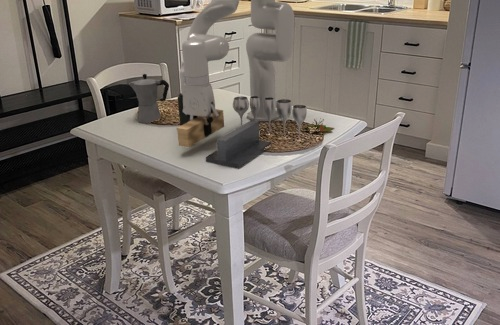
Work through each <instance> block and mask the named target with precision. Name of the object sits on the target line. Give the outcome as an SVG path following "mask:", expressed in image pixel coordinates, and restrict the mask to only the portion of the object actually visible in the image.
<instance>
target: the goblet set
mask: <svg viewBox="0 0 500 325" xmlns="http://www.w3.org/2000/svg"><path fill="white" fill-rule="evenodd" d="M249 97H250V98H249V100H248V97H246V96H242V95H241V96H239V95H238V96H236V97H234V98H233V101H232V108H233V110H234V111H235V112H236V114H238V115H239V118H240V126H242V125H243V118H244V115H245V113H247V111H248V110H249V108H250V111H252V113H253V115H254V120H255V121H256V116H257V113H258V111H259V107H260V100H259V97H258V96H252V97H251V96H249ZM276 101H277V105H276V111H277V113H278V116H279V118H280V121H281V122H282V124H283V135H284V136H285V135H286V122H287V120H288V119H289V117H290V116H291V114H292V118H293V120H294V121H295V122H294V123H296V125H297V127H298V128H297V129H298V138H301V128H302V124H303V123H304V121H305V120H306V118H307V114H308V113H307V112H308V110H307V106H306V105H304V104H295V105H293V103H292V100H291V99H288V98H287V99H286V98H284V99H283V98H281V99H278V100H276ZM292 105H293V106H292ZM274 108H275V103H274V98H272V97H267V98H265V99H264V110H265V113H266V115H267V117H268V121H267V122H268V131H269V132H268V133H271V117H272V114H273V112H274Z"/></svg>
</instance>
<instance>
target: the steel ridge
mask: <svg viewBox="0 0 500 325" xmlns="http://www.w3.org/2000/svg"><path fill="white" fill-rule="evenodd" d="M259 131H260V121H253V120H249V121H247V122H245V123H244V124H242V126H241V125H240V126H238V127H236V128H235V129H232V130H231V131H229V132H228V133H225V134H224V135H222V136H220V137H219V138H216V150H215V151H213V152H211V153H210V154H208V155H206V156H205V162H207V163H212V164H215V165H220V166H223V167H224V166H225V167H229V168H234V169H238V170H239V169H241V168H242V167H244V166H245V165H246V164H248V163H250V162H252V160H254V159H256V158H257V157H259V156H260V155H261V154H263V153H264V152H265V151H264V148H265V147H267V146H269V145H270V144H271V145H272V142H271V141H266V140H261V139H260V134H259Z"/></svg>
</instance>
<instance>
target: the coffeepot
mask: <svg viewBox="0 0 500 325" xmlns="http://www.w3.org/2000/svg"><path fill="white" fill-rule="evenodd" d="M147 76H148V74H147V73H143V74H142V78H141V79H138V80H134V81H130V82H128V85H129V86H130V87H131V88H132V90H133V91H134V93H135V94H136V97H137V98H136V99H137V101H138V110H137V113H138V114H137V121H138V122H139V123H141V124H152V123H151V121H154V120H157V119H159V118H161V119H162V115H161V112H160V107H159V105H158V102H157V99H158V87H159V86H164V88H163V92H162V98H159V101H160V102H166V99H167V95H168V91H169V88H170V84H169V82H167V81H166V79H154V78H147Z"/></svg>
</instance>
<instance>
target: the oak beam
mask: <svg viewBox="0 0 500 325" xmlns="http://www.w3.org/2000/svg"><path fill="white" fill-rule="evenodd" d="M215 109H216V108H215ZM216 111H217V113H218V114H219V117H217V118H216V119H214V120H213V122H212V123H211V129H212V133H211V134H210V135H208V136H205V134H204V125H205V122H204V118H203V117H200V116H198V117H197V118H195V119H193V120H191V121H189V122H187V123H185V124H183V125H181V126H180V125H179V126H177V127H176V131H177V140H178V146H179V147H184V148H190V147H193V146H194V145H196V144H198V143H199V142H201V141H202V140H204V139H205V138H208V137H209V136H211V135H213V134H215V133H216V132H218V131H219V130H221V129H223V128H224V127H225V119H224V117H225V116H224V110H223V109H219V108H218V109H216ZM211 116H212V113H211ZM207 118H208V117H207Z"/></svg>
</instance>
